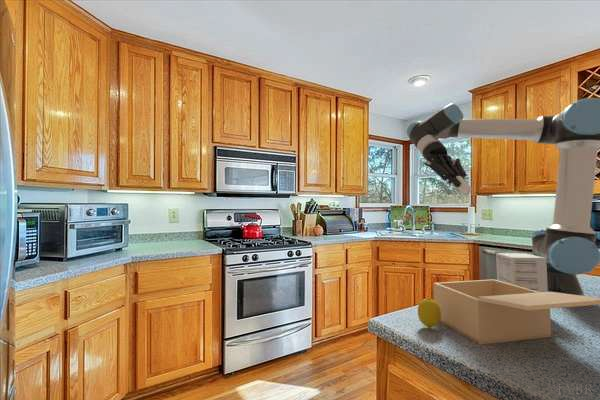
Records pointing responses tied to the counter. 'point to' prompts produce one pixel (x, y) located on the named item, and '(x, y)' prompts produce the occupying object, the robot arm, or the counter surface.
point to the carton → (489, 312)
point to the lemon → (429, 312)
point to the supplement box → (522, 270)
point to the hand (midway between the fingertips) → (467, 192)
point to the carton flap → (541, 300)
